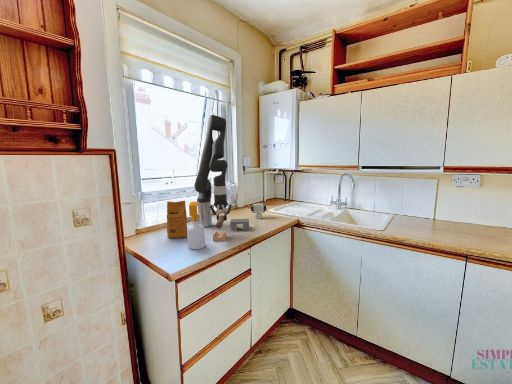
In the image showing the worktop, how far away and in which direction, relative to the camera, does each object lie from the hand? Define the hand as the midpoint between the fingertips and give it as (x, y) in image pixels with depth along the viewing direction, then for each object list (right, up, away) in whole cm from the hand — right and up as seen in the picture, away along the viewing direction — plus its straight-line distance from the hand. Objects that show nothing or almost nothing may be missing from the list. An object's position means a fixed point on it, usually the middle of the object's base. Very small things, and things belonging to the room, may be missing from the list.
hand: (221, 220), depth 143 cm
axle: (0, -1, -7) cm, 7 cm away
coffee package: (-27, -10, +1) cm, 29 cm away
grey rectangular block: (+10, -7, +12) cm, 17 cm away
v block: (0, -10, -5) cm, 11 cm away
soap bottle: (-11, -12, -16) cm, 23 cm away
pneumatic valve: (+23, -3, +37) cm, 44 cm away
